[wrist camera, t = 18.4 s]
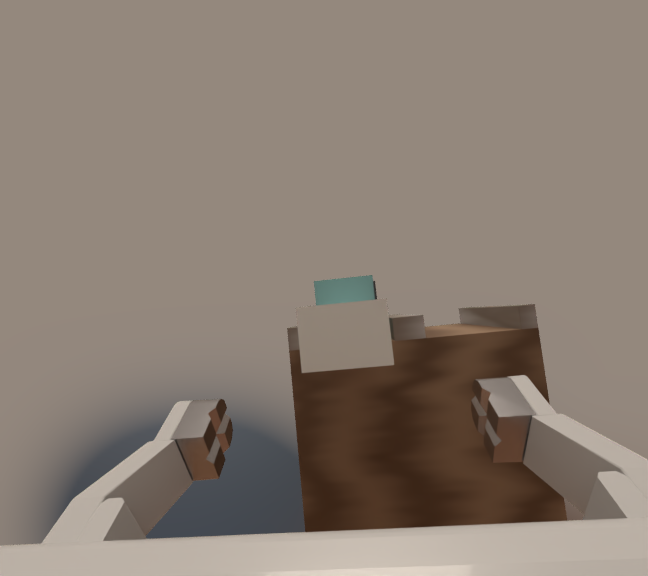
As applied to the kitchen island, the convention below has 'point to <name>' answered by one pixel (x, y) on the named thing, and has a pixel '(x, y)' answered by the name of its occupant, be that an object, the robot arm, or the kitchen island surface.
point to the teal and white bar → (344, 327)
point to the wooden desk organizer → (418, 429)
